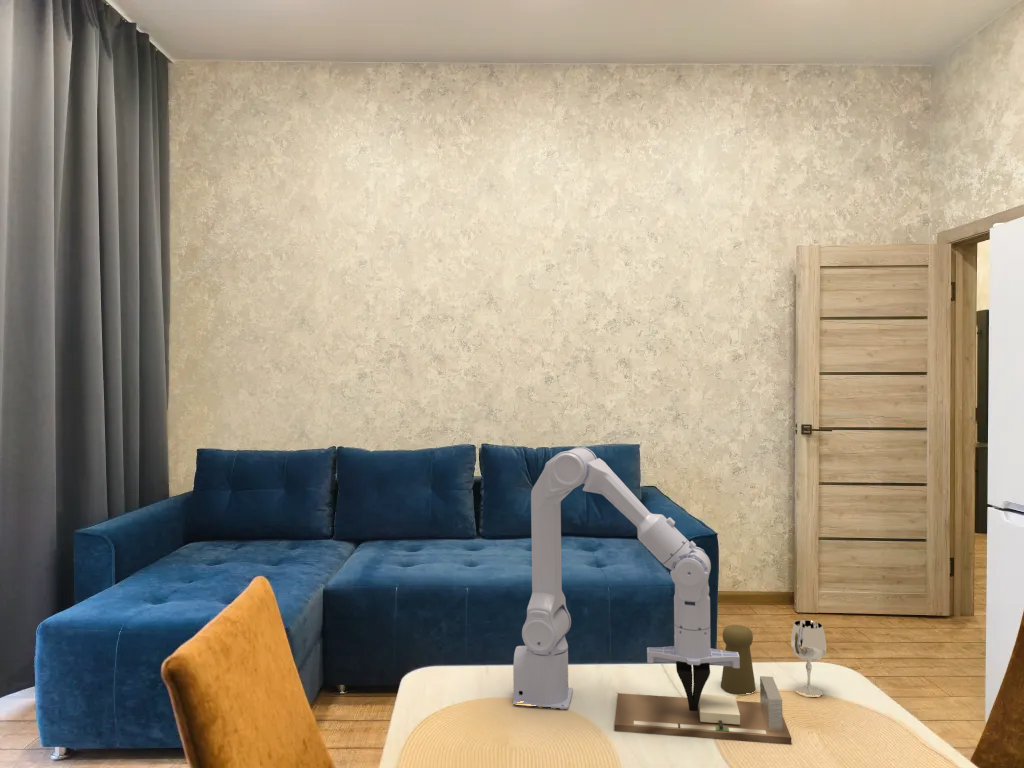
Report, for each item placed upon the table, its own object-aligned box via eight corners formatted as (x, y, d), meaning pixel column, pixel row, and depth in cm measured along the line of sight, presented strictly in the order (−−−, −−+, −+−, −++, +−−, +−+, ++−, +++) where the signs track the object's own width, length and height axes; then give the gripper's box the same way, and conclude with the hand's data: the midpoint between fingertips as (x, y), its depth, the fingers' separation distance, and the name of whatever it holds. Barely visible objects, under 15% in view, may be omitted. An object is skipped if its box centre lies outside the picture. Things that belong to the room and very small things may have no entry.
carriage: (701, 727, 114) (701, 717, 114) (697, 702, 123) (697, 693, 123) (741, 730, 113) (741, 720, 113) (735, 705, 122) (734, 696, 122)
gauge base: (614, 730, 116) (614, 723, 116) (617, 698, 128) (617, 692, 128) (791, 744, 111) (791, 736, 111) (777, 709, 123) (777, 702, 123)
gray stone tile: (768, 731, 113) (768, 698, 113) (760, 706, 122) (760, 676, 122) (782, 732, 113) (782, 699, 113) (773, 707, 122) (772, 676, 122)
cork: (758, 696, 128) (757, 633, 128) (722, 693, 129) (721, 631, 129) (753, 682, 134) (753, 622, 134) (719, 680, 135) (718, 620, 135)
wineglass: (786, 693, 129) (785, 624, 129) (799, 683, 134) (798, 617, 134) (819, 702, 125) (818, 632, 125) (831, 691, 130) (830, 623, 130)
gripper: (646, 630, 117) (647, 716, 117) (741, 635, 114) (742, 722, 114) (646, 616, 124) (647, 697, 124) (736, 620, 121) (737, 703, 121)
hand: (693, 708), depth 120 cm, fingers closed
